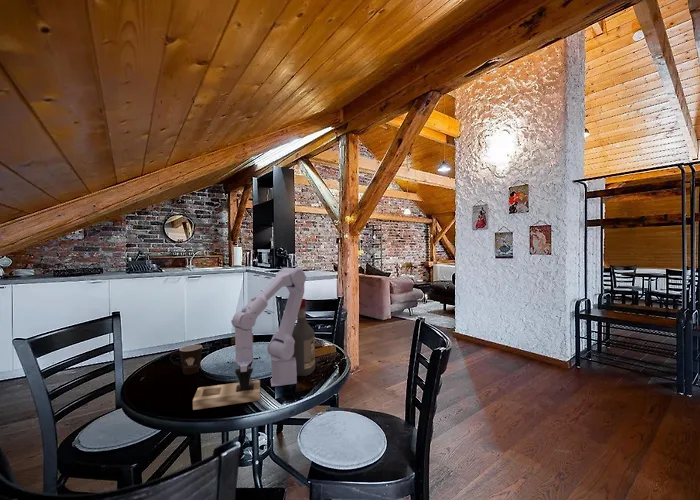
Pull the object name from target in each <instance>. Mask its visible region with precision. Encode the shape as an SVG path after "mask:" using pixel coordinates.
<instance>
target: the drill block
mask: <svg viewBox="0 0 700 500" xmlns="http://www.w3.org/2000/svg"><path fill="white" fill-rule="evenodd" d="M258 401H261V379H255V380H251V390H248V391H241V392H239V382H232V383H225V384H217V385H210V386H208V385H207V386H200V387H198V388H197V390H196V391H195V394H194V396H193V398H192V410H193V411H195V410H203V409H209V408H216V407H224V406H229V405H230V406H231V405H237V404H245V403H252V402H258Z"/></svg>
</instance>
